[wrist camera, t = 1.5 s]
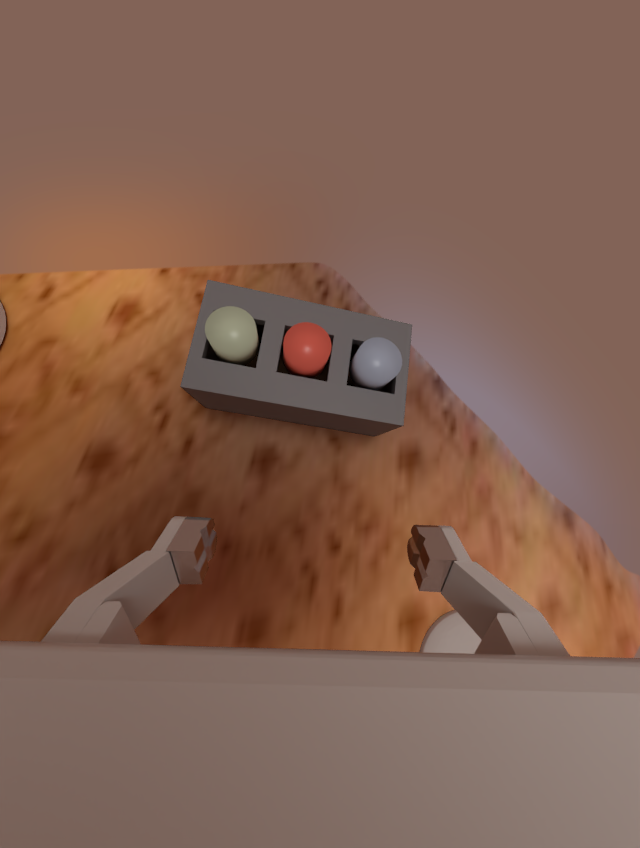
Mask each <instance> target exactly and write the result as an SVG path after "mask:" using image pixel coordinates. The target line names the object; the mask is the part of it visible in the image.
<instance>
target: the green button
mask: <svg viewBox="0 0 640 848" xmlns="http://www.w3.org/2000/svg"><path fill="white" fill-rule="evenodd" d="M205 334H206V337H207V339H208V341H209V343H210V345H211V346H212V348H213V350H214V352H215V353H216V355H217V357H218V358H219V359H220V360H221V361H222V362H226V363H231V364H236V365H242V366H244V365H247V364H249V363H250V362H252V361H253V360H254V359H255V358H256V356H257V354H258V352H259V339H258V334H257V328H256V324H255V321H254V319H253V317H252V316H251V315H250V314H249V313H248V312H247V311H245V310H243V309H241V308H239V307H234V306H226V307H222V308H219V309H217V310H215V311H214V312H213V313H211V314H210V316H209V317H208V319H207V321H206V323H205Z"/></svg>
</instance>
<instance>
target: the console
mask: <svg viewBox="0 0 640 848" xmlns="http://www.w3.org/2000/svg"><path fill="white" fill-rule="evenodd" d="M226 306H234V307H239V308H241V309H243V310H245V311H247V312H248V313H249V314H250V315H251V316H252V317H253V319H254V321H255V324H256V328H257V334H258V337H261V338H262V340H261V345H260V350H259V355H258V360H257V365H256V368H252V367H247V366H242V365H236V364H231V363H226V362H222V361H221V360H220V359H219V358H218V357H217V355H216V353H215V352H214V350H213V348H212V346H211V345H210V343H209V341H208V339H207V337H206V334H205V323H206V321H207V319H208V317H209V316H210V314H211V313H213V312H214V311H215V310H217V309H219V308H222V307H226ZM302 322H310V323H314V324H317V325H319V326H320V327H322V328H323V329H324V330H325V331H326V332H327V333H328V335H329V337H330V340H331V345H332V347H331V353H330V359H329V366H328V373H327V380H326V381H321V380H316V379H311V378H305V377H300V376H295V375H289V374H284V373H279V372H277V370H278V364H279V359H280V354H281V348H282V343H283V342H284V337H285V334H286V333H287V331H288V330H289V329H290V328H291V327H292V326H294V325H296V324H298V323H302ZM411 332H412V325H411V324H407V323H402V322H398V321H393V320H389V319H384V318H379V317H375V316H370V315H366V314H361V313H357V312H352V311H348V310H343V309H338V308H334V307H329V306H325V305H320V304H316V303H311V302H307V301H302V300H298V299H293V298H288V297H284V296H279V295H275V294H270V293H266V292H261V291H257V290H252V289H247V288H243V287H238V286H234V285H229V284H225V283H220V282H216V281H211V280H208V281H207V285H206V289H205V293H204V297H203V300H202V304H201V308H200V312H199V316H198V320H197V324H196V328H195V332H194V336H193V339H192V343H191V347H190V351H189V355H188V359H187V363H186V367H185V371H184V375H183V378H182V382H181V386H180V387H181V388H183V389H184V390H185V391H186V392H187V393H189V394H190V395H191V396H192V397H193V398H195V399H196V400H197V401H198V402H199V403H200V404H202V405H203V406H204V407H205V408H210V409H215V410H221V411H227V412H233V413H239V414H245V415H251V416H257V417H263V418H269V419H275V420H281V421H287V422H293V423H298V424H304V425H310V426H316V427H322V428H328V429H334V430H340V431H346V432H352V433H358V434H364V435H370V436H377V435H380V434H383V433H385V432H388V431H391V430H393V429H396V428H399V427H401V426H403V424H404V413H405V401H406V390H407V378H408V367H409V355H410V344H411ZM374 337H381V338H385V339H388V340H389V341H391V342H392V343H394V344H395V345H396V346H397V348H398V349H399V351H400V353H401V356H402V367H401V370H400V372H399V373H398V375H397V376H396V377H394V378H393V379H392V380H391V381H390V382H388V383H387V384H386V385H385V386H384V387H382V388H381V389H379V390H377V391H374V390H369V389H364V388H359V387H353V386H348V385H347V378H348V370H349V363H350V355H351V356H354V355H355V354H356V352H357V351H358V349H359V348H360V346H361V345H362V344H363V342H365V341H366V340H368V339H370V338H374Z"/></svg>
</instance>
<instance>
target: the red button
mask: <svg viewBox="0 0 640 848" xmlns="http://www.w3.org/2000/svg"><path fill="white" fill-rule="evenodd" d="M331 347H332V345H331V340H330V337H329V335H328V333H327V332H326V331H325V330H324V329H323V328H322V327H320V326H319V325H317V324H314V323H310V322H302V323H298V324H296V325H294V326H292V327H291V328H290V329H289V330H288V331H287V333H286V334H285V337H284V342H283V361H284V365H285V367H286V369H287V370H288V372H289V373H290V374H292V375H295V376H300V377H305V378H311V379H312V378H314V377H316V376H318V375H319V374H320V373H321V372H322V371H323V369H324V367H325V365H326V363H327V360H328V358H329V355H330V353H331Z"/></svg>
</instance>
